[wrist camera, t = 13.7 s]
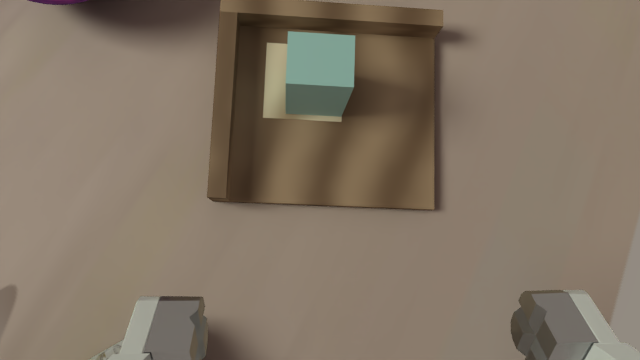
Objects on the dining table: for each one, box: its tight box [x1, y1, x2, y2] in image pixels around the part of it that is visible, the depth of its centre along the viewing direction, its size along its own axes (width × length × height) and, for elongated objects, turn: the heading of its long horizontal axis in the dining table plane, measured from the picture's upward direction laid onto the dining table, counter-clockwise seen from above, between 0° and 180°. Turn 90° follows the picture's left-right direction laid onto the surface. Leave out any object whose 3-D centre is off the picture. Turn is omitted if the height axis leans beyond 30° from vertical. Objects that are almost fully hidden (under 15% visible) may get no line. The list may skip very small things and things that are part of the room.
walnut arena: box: [207, 0, 443, 210], centre depth 43 cm, size 20×18×4 cm
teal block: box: [286, 31, 355, 117], centre depth 39 cm, size 5×4×8 cm
